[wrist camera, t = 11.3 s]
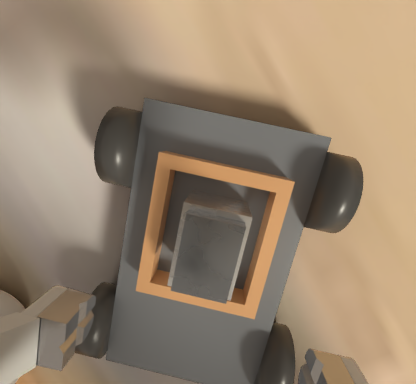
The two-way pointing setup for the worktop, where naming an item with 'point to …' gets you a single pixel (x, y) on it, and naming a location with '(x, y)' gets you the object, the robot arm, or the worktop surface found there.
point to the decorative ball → (9, 308)
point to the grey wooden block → (209, 246)
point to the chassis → (168, 229)
